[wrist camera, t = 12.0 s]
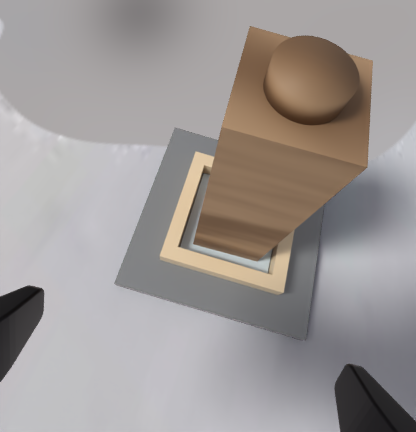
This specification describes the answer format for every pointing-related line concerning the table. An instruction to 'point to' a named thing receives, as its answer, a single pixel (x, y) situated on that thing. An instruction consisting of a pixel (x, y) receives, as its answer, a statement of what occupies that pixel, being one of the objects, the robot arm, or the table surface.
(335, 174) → the walnut column
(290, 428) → the table surface
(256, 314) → the gray square base plate
